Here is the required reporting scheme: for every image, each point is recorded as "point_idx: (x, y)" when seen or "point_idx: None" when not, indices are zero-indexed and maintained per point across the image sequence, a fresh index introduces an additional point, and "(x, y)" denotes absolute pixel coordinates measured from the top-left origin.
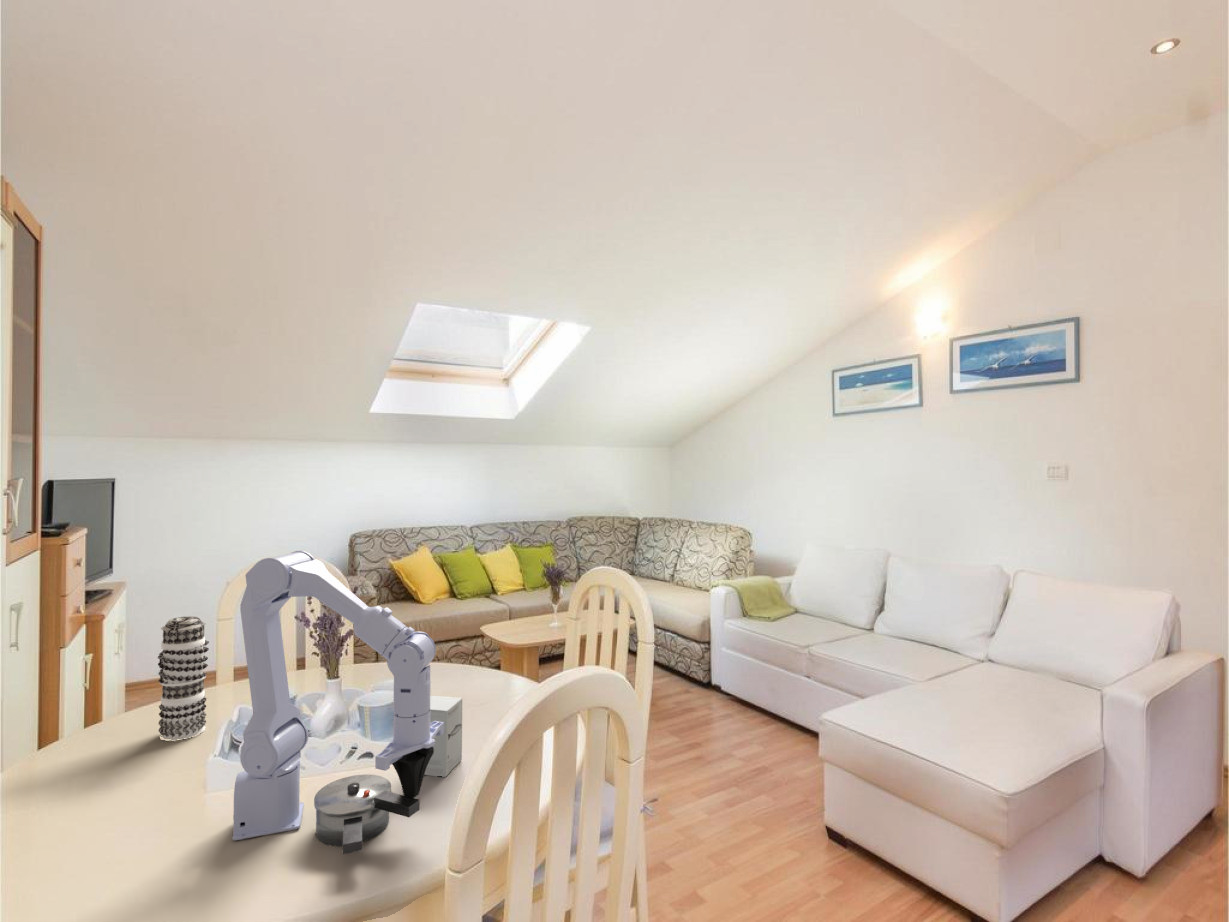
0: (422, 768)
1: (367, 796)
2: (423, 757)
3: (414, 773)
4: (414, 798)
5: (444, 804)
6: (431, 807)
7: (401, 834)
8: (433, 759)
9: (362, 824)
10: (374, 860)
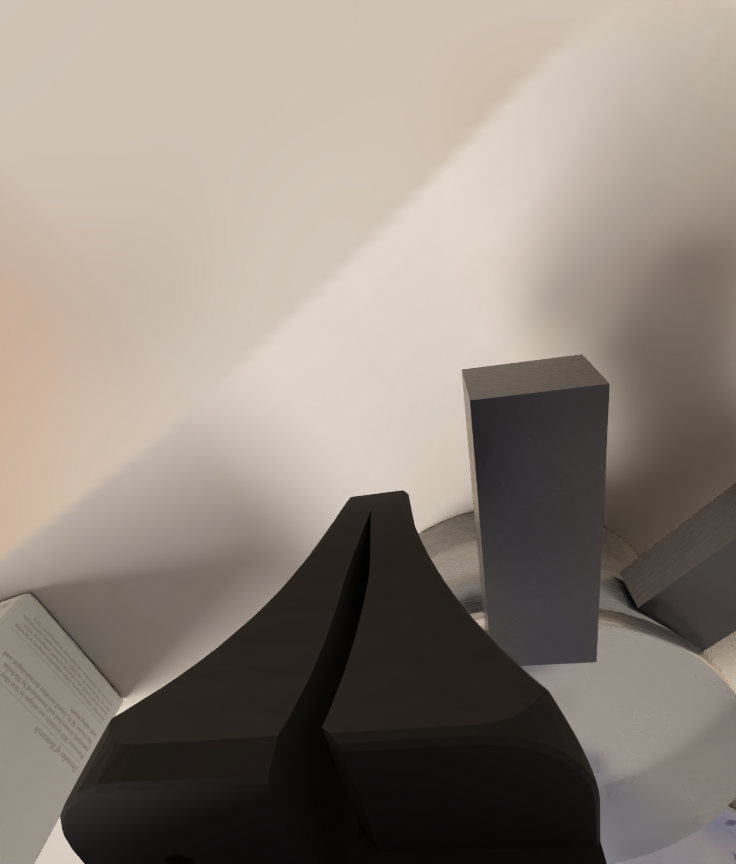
0: (324, 622)
1: None
2: (364, 742)
3: (464, 614)
4: (477, 446)
5: (156, 447)
6: (214, 477)
7: (451, 427)
8: (17, 699)
9: (611, 574)
10: (680, 371)
